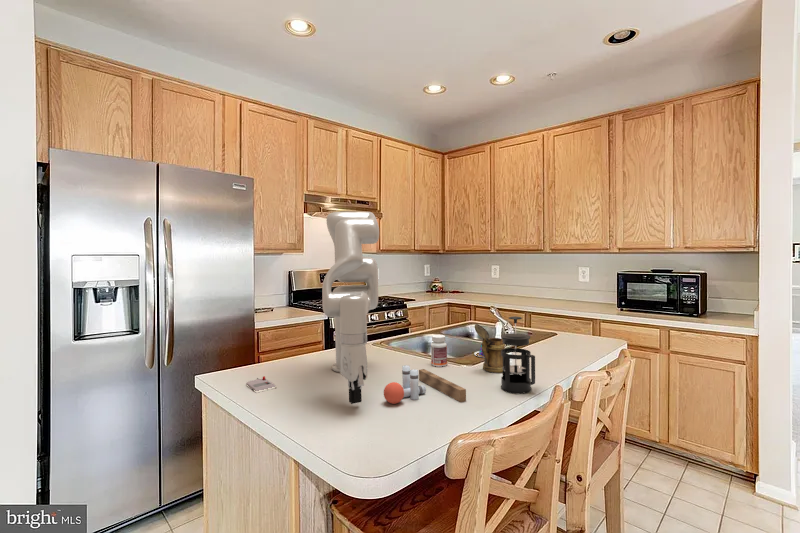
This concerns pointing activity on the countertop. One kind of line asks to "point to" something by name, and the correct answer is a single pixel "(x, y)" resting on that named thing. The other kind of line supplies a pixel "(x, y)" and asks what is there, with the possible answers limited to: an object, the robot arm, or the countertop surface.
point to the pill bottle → (438, 351)
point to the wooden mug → (491, 351)
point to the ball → (393, 392)
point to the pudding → (479, 351)
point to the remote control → (260, 384)
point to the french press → (513, 375)
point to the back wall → (443, 385)
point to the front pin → (421, 389)
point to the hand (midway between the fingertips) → (355, 402)
